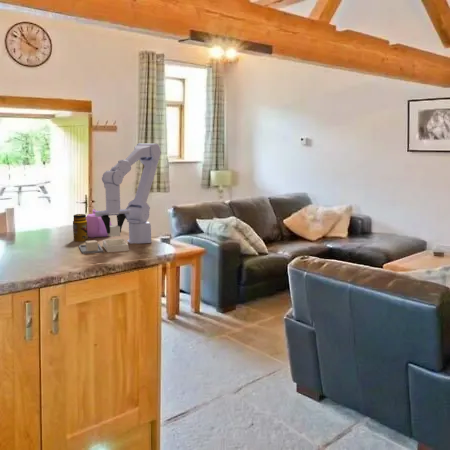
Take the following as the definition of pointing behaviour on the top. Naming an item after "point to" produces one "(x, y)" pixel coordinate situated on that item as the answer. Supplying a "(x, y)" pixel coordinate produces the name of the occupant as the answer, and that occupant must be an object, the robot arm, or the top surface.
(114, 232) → the light gray cube
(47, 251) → the top surface
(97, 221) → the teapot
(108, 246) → the cream dish
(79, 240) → the condiment
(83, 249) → the slate tray
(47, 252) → the top surface
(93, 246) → the beige cube
